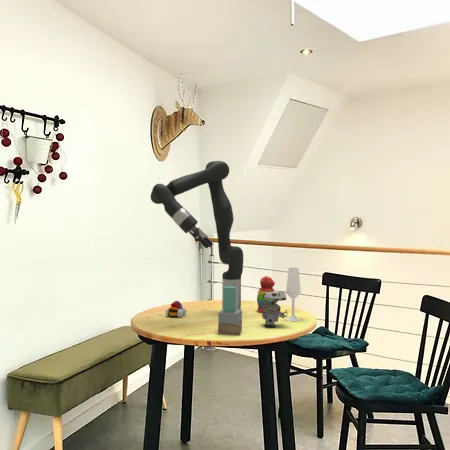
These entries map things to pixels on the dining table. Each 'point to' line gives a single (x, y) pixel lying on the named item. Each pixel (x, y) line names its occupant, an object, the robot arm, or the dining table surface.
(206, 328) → the dining table surface
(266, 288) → the stacking bear
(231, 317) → the gray top block
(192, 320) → the dining table surface
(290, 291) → the champagne flute
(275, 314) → the figurine
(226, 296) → the green block
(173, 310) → the rainbow petal toy
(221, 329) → the walnut base block
